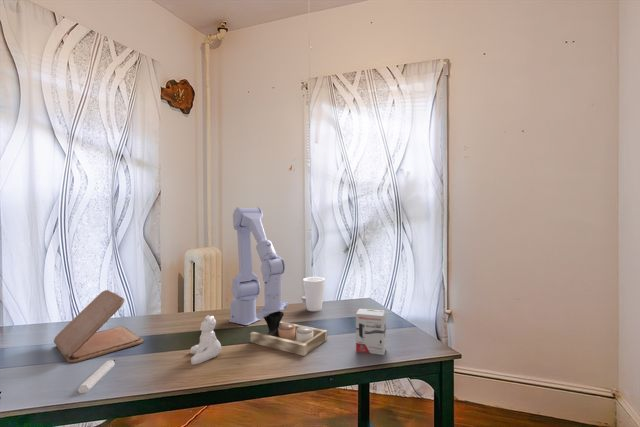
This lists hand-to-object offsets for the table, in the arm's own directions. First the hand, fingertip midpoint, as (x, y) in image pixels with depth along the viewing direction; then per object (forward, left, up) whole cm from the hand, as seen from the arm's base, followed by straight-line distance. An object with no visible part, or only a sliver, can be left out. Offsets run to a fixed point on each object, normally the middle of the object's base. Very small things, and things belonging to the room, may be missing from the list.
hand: (273, 334), depth 111 cm
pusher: (+1, 0, -1) cm, 1 cm away
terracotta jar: (+6, 0, -1) cm, 6 cm away
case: (-46, -32, -2) cm, 56 cm away
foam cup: (-5, +34, -1) cm, 34 cm away
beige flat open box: (+6, 0, -1) cm, 7 cm away
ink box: (+32, +6, -1) cm, 33 cm away
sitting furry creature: (-9, -21, -1) cm, 23 cm away
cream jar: (+12, 0, -1) cm, 13 cm away
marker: (-23, -43, -2) cm, 49 cm away
